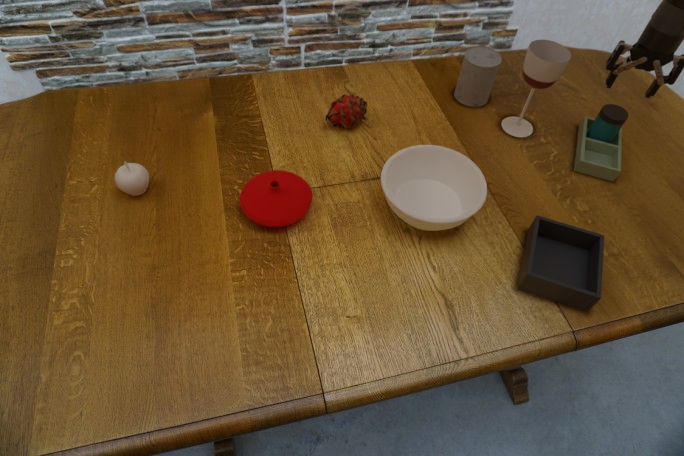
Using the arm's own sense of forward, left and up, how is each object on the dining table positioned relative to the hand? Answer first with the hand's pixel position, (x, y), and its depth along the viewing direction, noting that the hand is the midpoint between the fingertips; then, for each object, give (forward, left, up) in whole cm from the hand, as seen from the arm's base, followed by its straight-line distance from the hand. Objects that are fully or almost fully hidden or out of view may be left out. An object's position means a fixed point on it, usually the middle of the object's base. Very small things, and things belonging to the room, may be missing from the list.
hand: (627, 91), depth 106 cm
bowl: (+35, +38, -16) cm, 54 cm away
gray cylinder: (+34, -6, -16) cm, 38 cm away
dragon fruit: (+62, +19, -16) cm, 67 cm away
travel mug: (0, 0, -15) cm, 15 cm away
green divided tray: (0, +4, -16) cm, 16 cm away
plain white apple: (+97, +59, -16) cm, 114 cm away
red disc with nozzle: (+66, +51, -16) cm, 85 cm away
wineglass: (+20, +2, -16) cm, 26 cm away
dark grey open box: (+6, +44, -16) cm, 47 cm away
